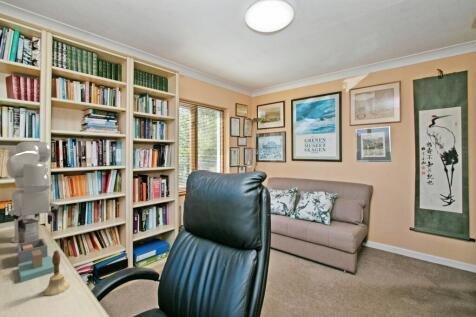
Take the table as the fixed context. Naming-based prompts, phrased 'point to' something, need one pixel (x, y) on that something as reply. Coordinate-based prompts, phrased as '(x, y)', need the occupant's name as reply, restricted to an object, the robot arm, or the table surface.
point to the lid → (35, 266)
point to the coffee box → (29, 230)
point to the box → (31, 249)
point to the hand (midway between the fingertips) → (35, 225)
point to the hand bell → (56, 278)
